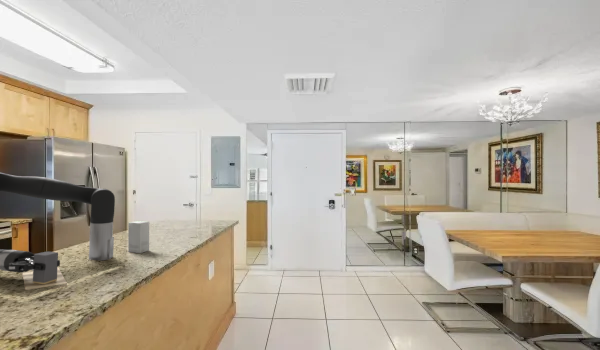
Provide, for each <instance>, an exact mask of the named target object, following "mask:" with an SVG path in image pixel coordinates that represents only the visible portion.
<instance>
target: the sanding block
mask: <svg viewBox="0 0 600 350" xmlns="http://www.w3.org/2000/svg"><path fill="white" fill-rule="evenodd" d="M33 254H34V262H35V263H42V264H45V265H46V268H45V270H43V271H41V270H33V283H38V284H47V283H50V282H53V281H56V280H57V268H59V266H57V263H58V260H59V252H55V251H44V252H43V251H42V252H38V253H33Z"/></svg>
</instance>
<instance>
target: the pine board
mask: <svg viewBox="0 0 600 350" xmlns="http://www.w3.org/2000/svg"><path fill="white" fill-rule="evenodd" d="M22 278H23V283H24V289H25V291H30V290H35V289H43V288H47V287H49V288H48V289H46V291H49V290H54V289H60V288H66V287H68V282H67V280H66V279H65V277H64V275H63V273H62V271H61V269H60V268H59V267H57V280H56V281H53V282H50V283H47V284H38V283H33V271H32V270H29V271H27V272H22ZM50 287H51V288H50Z"/></svg>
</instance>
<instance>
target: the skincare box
mask: <svg viewBox="0 0 600 350" xmlns="http://www.w3.org/2000/svg"><path fill="white" fill-rule="evenodd" d="M127 225H128V229H127V230H128V233H127V234H128V235H127V236H128V240H127V241H128V245H127V247H128V248H127V249H128V251H127V252H128V253H137V254H138V253H139V254H141V253H146V252H149V251H150V221H143V220H138V221H137V220H136V221H135V220H134V221H129V222H128V224H127Z"/></svg>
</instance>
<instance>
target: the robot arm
mask: <svg viewBox="0 0 600 350" xmlns="http://www.w3.org/2000/svg"><path fill="white" fill-rule="evenodd" d="M0 192H5V193H13V194H17V195H21V196H26V197H30V198H31V197H32V198H35V199H36V198H37V199H42V200H47V201H48V200H49V201H55V202H56V201H57V202H58V201H59V202H79V203H83V204H86V205H90V219H89V244H88V260H90V261H91V260H92V261H93V260H94V261H105V260H111V259H112V258H113V257H114V245H115V239H114V238H115V236H114V235H113V234H114V232H113V231H114V217H115V209H116V207H115V205H116V199H115V198H116V197H115V194H114V192H112V190H109V189H107V188H99V187H97V188H96V187H88V186H83V185H78V184H74V183H72V182H67V181H65V180H60V179H55V178H50V177H44V176H34V175H32V176H27V175H26V176H21V175H12V174H8V173H4V172H0ZM34 254H35V253H33V252H31V251H26V250H18V249H17V250H16V249H1V248H0V270H1V271H5V272H10V273H18V274H21V273H23V272H30V271H33V270H41V271H43V270H45V268H46V265H45V264H42V263H35V262H34ZM57 266H58V267H60V266H61V260H60V259H58V263H57Z"/></svg>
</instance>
